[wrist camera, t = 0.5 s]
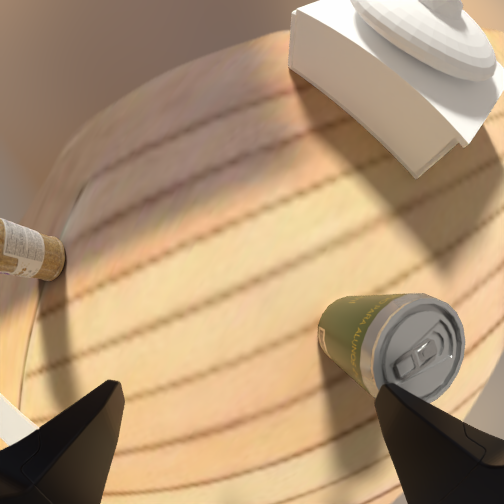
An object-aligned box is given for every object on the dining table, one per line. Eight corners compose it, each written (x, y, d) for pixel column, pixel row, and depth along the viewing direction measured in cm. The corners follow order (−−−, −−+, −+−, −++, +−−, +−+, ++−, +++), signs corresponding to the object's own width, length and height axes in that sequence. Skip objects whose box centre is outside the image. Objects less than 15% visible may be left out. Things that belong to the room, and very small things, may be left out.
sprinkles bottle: (38, 283, 24) (-65, 268, 10) (37, 240, 24) (-60, 207, 11) (68, 278, 23) (-44, 259, 10) (67, 232, 24) (-36, 190, 11)
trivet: (43, 431, 21) (41, 432, 20) (44, 473, 20) (42, 474, 19) (-7, 385, 22) (-9, 386, 21) (-5, 429, 21) (-7, 430, 20)
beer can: (331, 372, 21) (388, 435, 9) (304, 314, 22) (347, 332, 10) (387, 341, 21) (477, 370, 10) (363, 284, 22) (447, 270, 10)
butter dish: (374, 25, 27) (401, -60, 12) (476, 112, 25) (541, 42, 9) (286, 69, 26) (294, -58, 10) (417, 185, 24) (525, 93, 8)
